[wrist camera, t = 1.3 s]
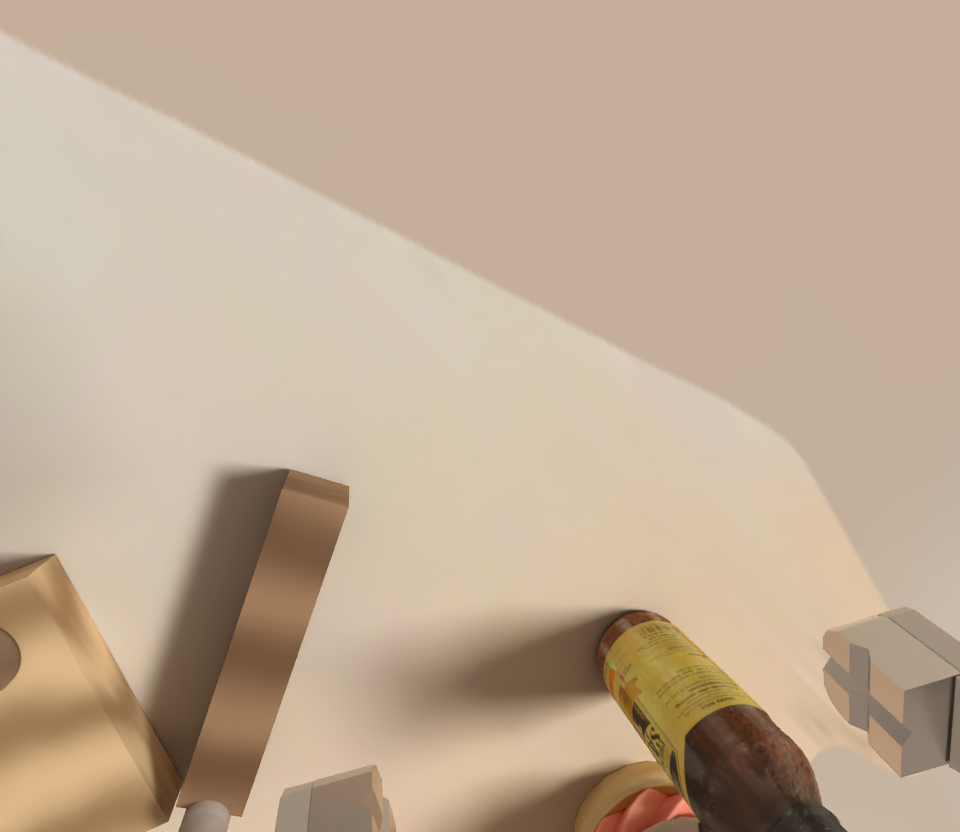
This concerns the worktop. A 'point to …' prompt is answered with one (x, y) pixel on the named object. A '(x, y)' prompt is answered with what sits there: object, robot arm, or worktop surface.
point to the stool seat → (71, 719)
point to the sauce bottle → (709, 732)
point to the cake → (636, 803)
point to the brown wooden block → (263, 651)
